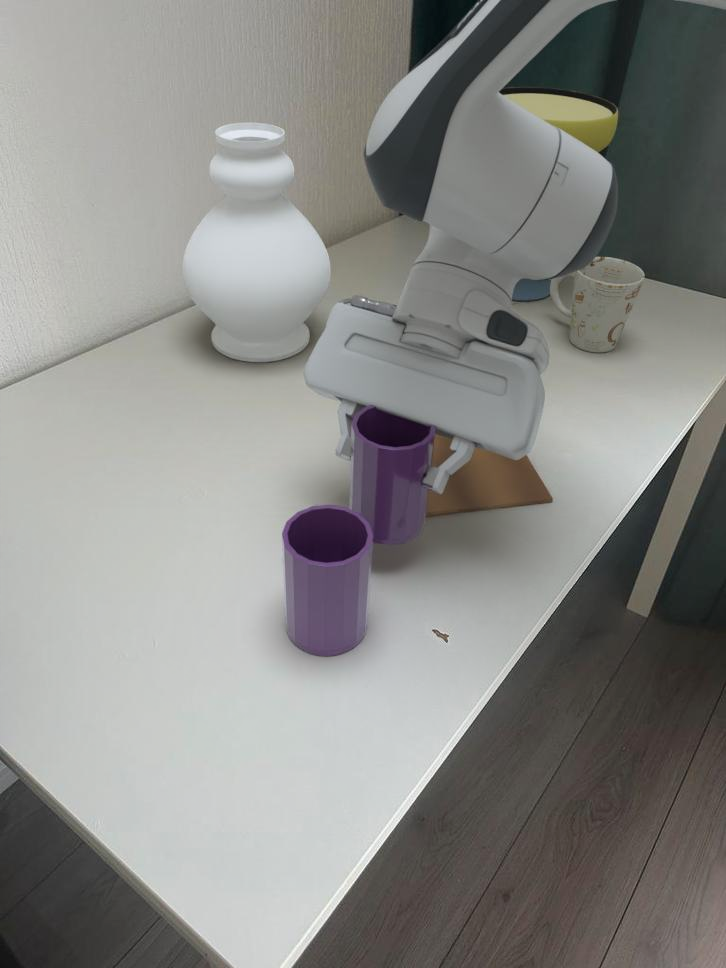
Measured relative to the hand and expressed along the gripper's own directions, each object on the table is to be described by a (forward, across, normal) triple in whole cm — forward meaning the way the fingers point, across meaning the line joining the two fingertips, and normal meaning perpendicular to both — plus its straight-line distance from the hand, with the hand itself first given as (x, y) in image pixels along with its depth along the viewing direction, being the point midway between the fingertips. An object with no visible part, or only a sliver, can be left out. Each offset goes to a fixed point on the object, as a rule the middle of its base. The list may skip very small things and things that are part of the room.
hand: (387, 474), depth 64 cm
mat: (-5, 0, +18) cm, 19 cm away
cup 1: (+13, 0, 0) cm, 13 cm away
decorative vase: (-13, -32, +26) cm, 43 cm away
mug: (-29, +3, +43) cm, 52 cm away
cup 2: (+3, 0, +4) cm, 5 cm away
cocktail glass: (-36, -10, +50) cm, 62 cm away
